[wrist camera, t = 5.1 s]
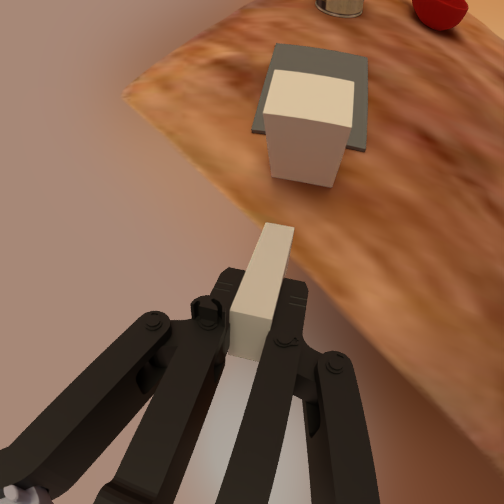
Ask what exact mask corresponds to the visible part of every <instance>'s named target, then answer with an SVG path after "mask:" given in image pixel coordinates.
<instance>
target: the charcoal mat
mask: <svg viewBox="0 0 504 504" xmlns="http://www.w3.org/2000/svg"><path fill="white" fill-rule="evenodd" d="M275 69H276V70H285V71H294V72H301V73H308V74H315V75H321V76H327V77H333V78H338V79H343V80H348V81H353V82H354V100H353V117H352V129H351V132H350V135H349V138H348V141H347V144H346V147H345V148H349V149H353V150H358V151H362V152H365V150H366V138H367V111H368V60H367V57H363V56H358V55H353V54H349V53H343V52H338V51H333V50H327V49H320V48H314V47H306V46H298V45H289V44H279V43H276V45H275V49H274V52H273V55H272V59H271V62H270V65H269V69H268V72H267V76H266V79H265V83H264V86H263V89H262V93H261V96H260V100H259V104H258V107H257V111H256V114H255V118H254V121H253V125H252V129H251V130H252V133H260V134H266V132H265V125H264V118H263V111H264V107H265V103H266V99H267V96H268V92H269V88H270V84H271V81H272V77H273V73H274V70H275Z"/></svg>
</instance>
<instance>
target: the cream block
mask: <svg viewBox="0 0 504 504" xmlns="http://www.w3.org/2000/svg"><path fill="white" fill-rule="evenodd" d="M353 100H354V82H353V81H348V80H343V79H338V78H333V77H327V76H321V75H315V74H308V73H301V72H294V71H285V70H276V69H275V70H274V73H273V77H272V81H271V84H270V88H269V92H268V96H267V99H266V103H265V107H264V111H263V118H264V125H265V132H266V139H267V147H268V154H269V162H270V169H271V177H275V178H281V179H287V180H292V181H298V182H304V183H309V184H314V185H320V186H325V187H330V188H332V186H333V183H334V180H335V178H336V175H337V172H338V169H339V166H340V163H341V160H342V157H343V154H344V150H345V147H346V144H347V141H348V138H349V135H350V132H351V129H352V117H353Z"/></svg>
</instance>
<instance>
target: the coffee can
mask: <svg viewBox="0 0 504 504" xmlns="http://www.w3.org/2000/svg"><path fill="white" fill-rule="evenodd" d="M363 1H364V0H316V2H315V4H316V7H317V8H318V9H319V10H321V11H322V12H324V13H326V14H329V15H332V16H336V17H342V18H352V17H357V16H359V15H360V14H361V13H362V7H363Z"/></svg>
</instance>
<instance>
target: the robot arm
mask: <svg viewBox="0 0 504 504" xmlns="http://www.w3.org/2000/svg"><path fill="white" fill-rule="evenodd" d="M293 234H294V227H289V226H284V225H278V224H273V223H267V222H266V223H265V226H264V228H263V231H262V233H261V236H260V238H259V241H258V243H257V245H256V248H255V250H254V253H253V255H252V257H251V260H250V262H249V265H248V267H247V270H246V271H244V270H240V269H235V268H230V267H229V268H227V269H226V270H224V271H223V272H222V273H221V274H220V276H219V278H218V280H217V282H216V284H215V286H214V288H213V290H212V292H211V294H210V296H209V295H205V296H200V297H198V298H196V299H194V300H193V301H192V303H191V315H192V319H188V320H170V319H169V317H168V316H167V315H166V314H165V313H163V312H160V311H150V312H147V313H145V314H143V315H142V316H141V317H139V318H138V319H137V320H136V321H135V322H134V323H133V324H132V325H131V326H130V327H129V328H128V329H127V330H126V331H125V332H124V333H122V335H120V336H119V337H118V339H116V340H115V341H114V342H113V343H112V344H111V345H110V346H109V347H108V348H107V349H106V350H105V351H104V352H103V353H102V354H100V355H99V356H98V357H97V358H96V359H95V360H94V361H93V362H92V363H91V364H90V365H89V366H88V367H87V368H86V369H85V370H84V371H83V372H82V373H81V374H80V375H79V376H78V377H77V378H76V379H75V380H74V381H73V382H72V383H71V384H70V385H69V386H68V387H67V388H66V389H65V390H64V391H63V392H62V393H61V394H60V395H59V396H58V397H57V398H56V399H55V400H54V401H53V402H52V403H51V404H50V405H49V406H48V407H47V408H46V409H45V410H44V411H43V412H42V413H41V414H40V415H39V416H38V417H37V418H36V419H35V420H34V421H33V422H32V423H31V424H30V425H29V426H28V427H27V428H26V429H25V430H24V431H23V432H22V433H21V435H19V436H18V438H17V439H16V440H15V441H14V442H13V443H12V444H11V445H10V446H9V447H6V448H4V449H2V450H0V504H54V503H53V502H52V500H53V499H55V498H57V497H59V496H60V495H62V494H63V493H65V492H66V491H68V490H69V489H70V488H71V487H72V486H73V485H74V484H75V483H76V482H77V481H78V479H79V478H80V477H81V476H82V475H83V474H84V473H85V472H86V471H87V469H88V468H89V467H90V466H91V465H92V463H94V462H95V461H96V459H97V458H98V457H99V456H100V455H101V454H102V453H103V451H104V450H105V449H106V448H107V447H108V446H109V445H110V444H111V442H112V441H113V440H114V439H115V438H116V437H117V436H118V434H119V433H120V432H121V431H122V430H123V429H124V428H125V426H126V425H127V424H128V423H129V422H130V421H131V420H132V418H133V417H134V416H135V415H136V414H137V413H138V411H139V410H140V409H141V408H142V407H143V406H144V405H145V403H146V402H147V401H148V400H149V399H150V398H151V397H152V395H153V394H154V395H153V397H152V399H151V401H150V404H149V405H148V407H147V409H146V411H145V414H144V415H143V418H142V420H141V422H140V424H139V426H138V428H137V430H136V432H135V434H134V436H133V438H132V441H131V442H130V445H129V447H128V449H127V451H126V453H125V455H124V457H123V459H122V461H121V464H120V466H119V468H118V470H117V472H116V474H115V476H114V478H113V479H112V480H111V481H110V482H109V483H107V484H105V485H104V486H103V487H102V488H101V490H100V491H99V493H98V495H97V497H96V499H95V501H94V503H93V504H173V503H174V500H175V497H176V495H177V492H178V490H179V487H180V484H181V482H182V479H183V477H184V474H185V471H186V469H187V466H188V463H189V461H190V458H191V455H192V453H193V450H194V447H195V445H196V442H197V440H198V437H199V434H200V431H201V429H202V426H203V423H204V421H205V418H206V415H207V413H208V410H209V407H210V405H211V402H212V399H213V396H214V394H215V391H216V388H217V386H218V383H219V380H220V377H221V375H222V372H223V369H224V366H225V357H226V354H227V352H228V354H229V355H233V356H237V357H240V358H245V359H249V360H253V361H258V362H259V365H258V368H257V372H256V375H255V379H254V382H253V385H252V389H251V392H250V396H249V399H248V402H247V406H246V409H245V413H244V416H243V420H242V422H241V426H240V429H239V432H238V435H237V438H236V442H235V445H234V448H233V451H232V454H231V457H230V460H229V464H228V467H227V470H226V473H225V476H224V479H223V482H222V485H221V488H220V491H219V494H218V497H217V500H216V503H215V504H268V501H269V497H270V493H271V489H272V485H273V482H274V477H275V474H276V469H277V465H278V461H279V457H280V452H281V448H282V443H283V439H284V435H285V430H286V425H287V421H288V416H289V411H290V406H291V401H292V396H293V395H294V396H296V397H298V398H300V399H302V403H303V413H304V422H305V432H306V442H307V453H308V463H309V475H310V488H311V502H312V504H380V499H379V492H378V486H377V479H376V473H375V468H374V462H373V456H372V452H371V446H370V440H369V436H368V430H367V425H366V421H365V416H364V411H363V407H362V402H361V398H360V393H359V389H358V385H357V380H356V376H355V372H354V368H353V365H352V363H351V360H350V359H349V358H348V357H347V356H346V355H345V354H343V353H341V352H337V351H329V352H325V353H324V354H322V353H320V352H318V351H316V350H314V349H312V348H310V347H309V346H308V345H307V344H306V342H305V341H304V339H303V336H302V331H303V325H304V317H305V311H306V304H307V297H308V288H307V286H306V283H305V282H302V281H297V280H292V279H287V278H285V276H286V272H287V268H288V262H289V257H290V251H291V245H292V240H293ZM228 349H229V351H228Z"/></svg>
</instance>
